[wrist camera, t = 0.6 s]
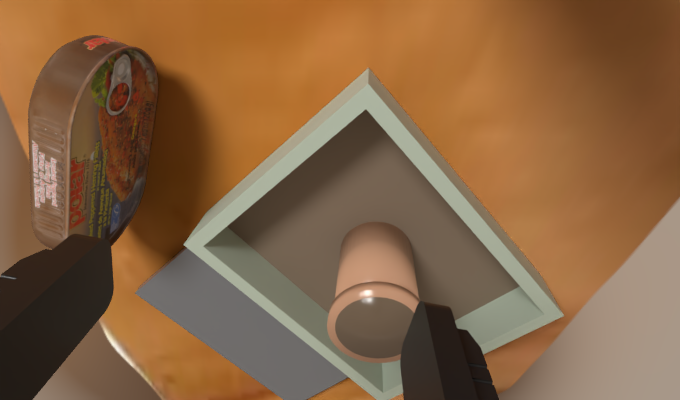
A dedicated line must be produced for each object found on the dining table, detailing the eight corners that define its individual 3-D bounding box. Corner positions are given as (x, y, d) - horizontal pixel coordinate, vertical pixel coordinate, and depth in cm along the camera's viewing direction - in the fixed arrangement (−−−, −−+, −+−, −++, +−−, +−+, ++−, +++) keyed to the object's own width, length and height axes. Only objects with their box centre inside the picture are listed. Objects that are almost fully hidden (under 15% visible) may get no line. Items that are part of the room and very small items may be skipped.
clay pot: (381, 203, 29) (384, 274, 22) (431, 256, 31) (448, 336, 24) (320, 246, 32) (306, 323, 25) (370, 293, 34) (370, 376, 27)
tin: (140, 220, 33) (74, 290, 26) (102, 208, 33) (24, 274, 25) (167, 40, 26) (87, 64, 19) (119, 21, 26) (17, 38, 18)
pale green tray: (368, 67, 26) (368, 83, 22) (541, 275, 33) (564, 315, 29) (206, 212, 32) (183, 244, 28) (380, 360, 39) (381, 403, 35)
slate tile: (193, 239, 34) (188, 246, 33) (350, 367, 40) (350, 376, 39) (140, 285, 36) (134, 293, 36) (294, 397, 43) (293, 406, 42)
